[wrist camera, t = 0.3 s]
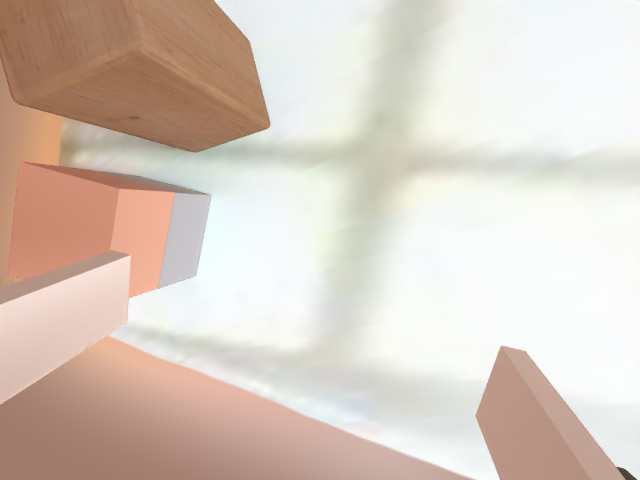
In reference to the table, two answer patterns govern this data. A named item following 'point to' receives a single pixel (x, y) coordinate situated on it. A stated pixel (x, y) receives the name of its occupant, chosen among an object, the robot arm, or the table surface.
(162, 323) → the table surface
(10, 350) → the robot arm
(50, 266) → the tower top
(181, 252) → the tower base
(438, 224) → the table surface
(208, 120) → the wooden block
